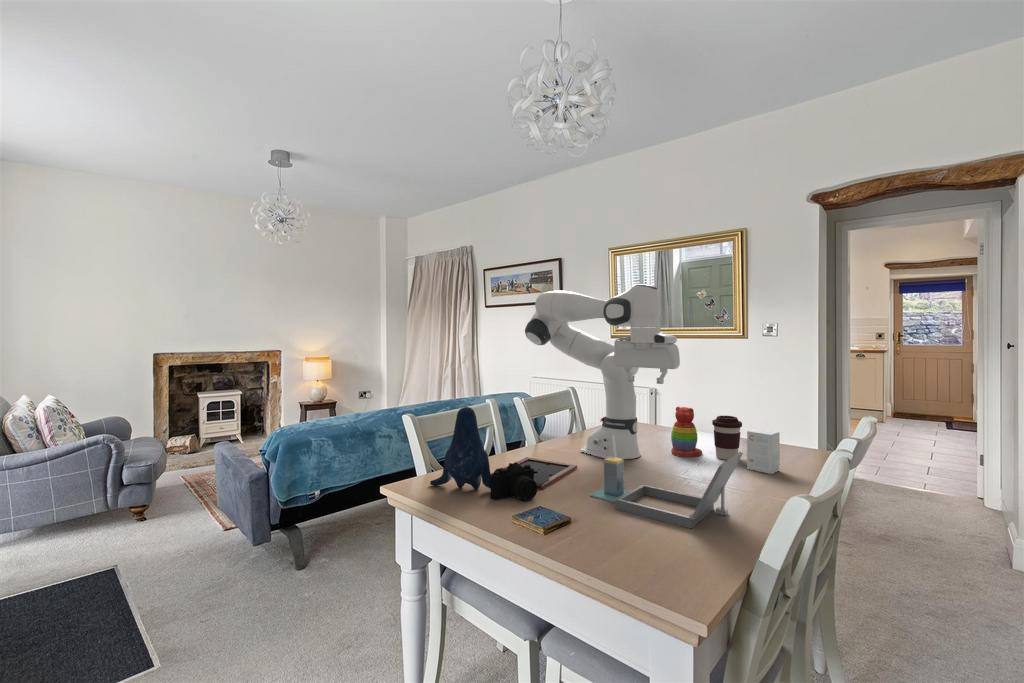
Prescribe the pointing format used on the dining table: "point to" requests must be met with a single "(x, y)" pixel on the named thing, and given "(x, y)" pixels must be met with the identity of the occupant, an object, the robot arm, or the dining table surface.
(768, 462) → the small box
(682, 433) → the stacking bear
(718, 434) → the coffee cup
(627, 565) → the dining table surface
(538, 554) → the dining table surface
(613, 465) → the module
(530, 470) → the film camera
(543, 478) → the picture frame
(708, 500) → the case
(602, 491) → the pad
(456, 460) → the dark blue plush toy
